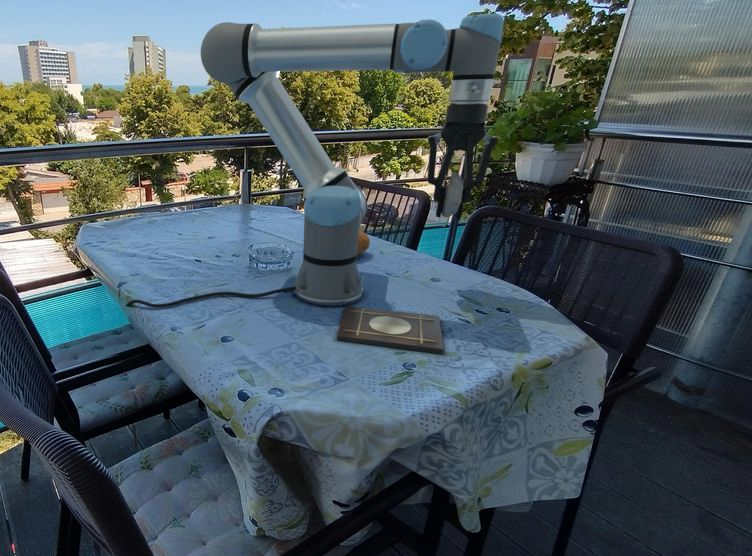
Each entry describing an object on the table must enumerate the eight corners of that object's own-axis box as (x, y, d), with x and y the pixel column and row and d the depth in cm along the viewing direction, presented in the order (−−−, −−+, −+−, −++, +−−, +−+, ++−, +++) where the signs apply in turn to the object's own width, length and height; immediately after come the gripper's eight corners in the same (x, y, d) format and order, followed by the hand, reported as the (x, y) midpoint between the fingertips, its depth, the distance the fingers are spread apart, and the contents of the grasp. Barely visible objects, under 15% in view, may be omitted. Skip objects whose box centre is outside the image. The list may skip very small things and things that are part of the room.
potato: (324, 255, 133) (325, 229, 130) (351, 247, 138) (352, 223, 135) (349, 263, 126) (351, 236, 123) (376, 254, 131) (379, 229, 128)
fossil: (460, 220, 101) (468, 174, 97) (443, 220, 102) (451, 174, 98) (453, 214, 106) (461, 170, 102) (437, 214, 107) (444, 170, 103)
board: (336, 340, 86) (337, 334, 86) (345, 310, 98) (346, 305, 98) (442, 354, 80) (443, 348, 80) (438, 320, 92) (439, 315, 92)
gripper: (426, 103, 94) (409, 218, 103) (518, 102, 89) (492, 222, 98) (423, 103, 100) (408, 210, 110) (509, 102, 95) (485, 214, 105)
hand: (448, 216), depth 104 cm, fingers closed on fossil, 3 cm apart
